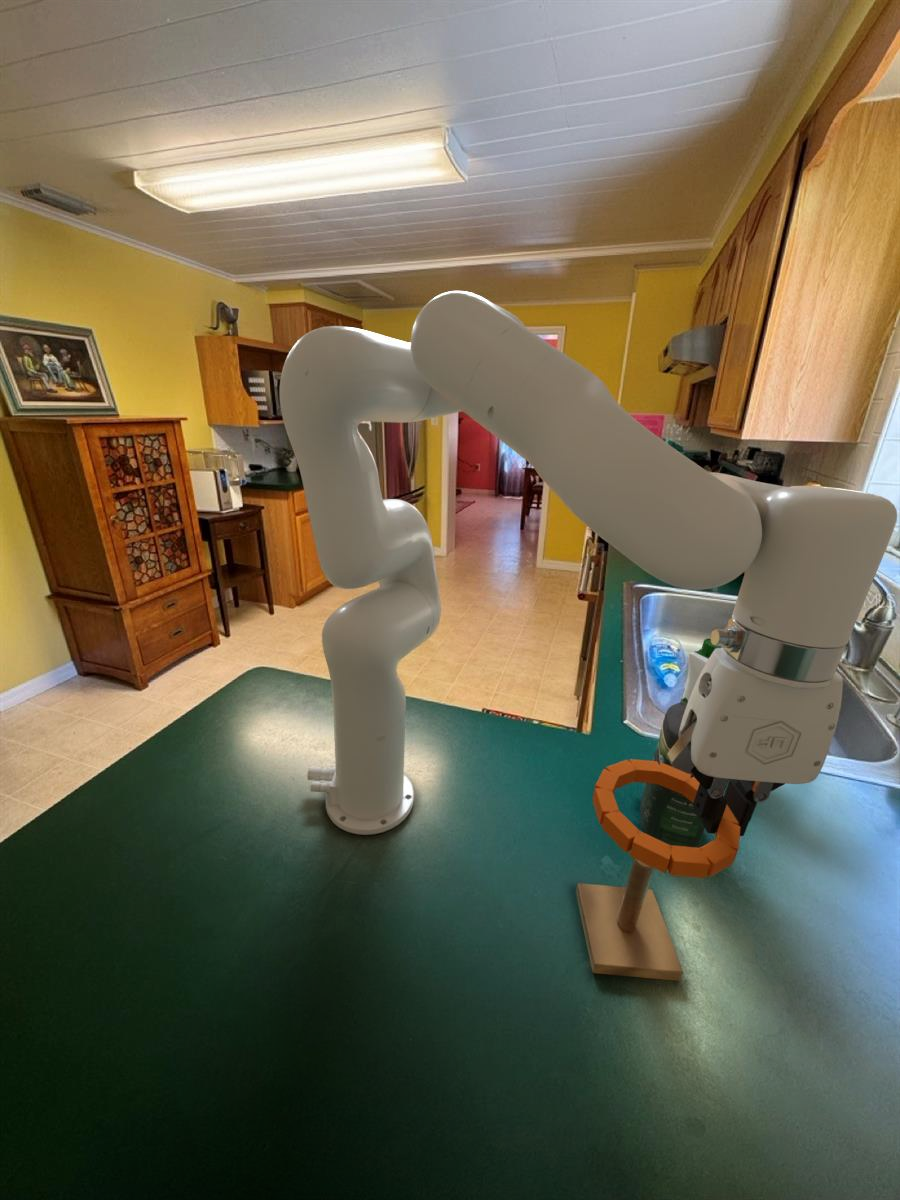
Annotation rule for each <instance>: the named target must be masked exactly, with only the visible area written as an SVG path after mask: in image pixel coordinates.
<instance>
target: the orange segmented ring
mask: <svg viewBox="0 0 900 1200" xmlns="http://www.w3.org/2000/svg"><path fill="white" fill-rule="evenodd" d="M690 777H691V774H687V773H685V772H683V771H680V770H678V769H676V768H674V767H672V766H669V765H667V764H664V763H661V764H660V766H659V764H658V762H657V761H653V760H645V759H635V758H633V759H632V758H630V759H629V760H628V759H624V760H622V761H619V762H616V763H613V764H610V765H608V766H605V768H603V769H602V771H601V773H600V775H599V777H598V779H597V781H596V783H595V785H594V790H593V795H592V804H593V806H594V807H593V808H594V810H595V814H596V818H597V820H598V824H599V825H601V829H602V830H603V831H604V832H605V833H606V834H607V835H608V836H609V837H610V838H611V839H612V840H613V842H615V843H616V845H617V846H618V847H619V848H621V850H622V851H623V852H624V853H628V852H629V857H631V858H632V859H634V858H635V859H637V860H639V861H641V862H643V863H645V864H647V865H649V866H651V867H653V868H654V870H657V871H659V872H661V873H663V874H666V873H667V871H668V874H669V875H670V876H676V877H688V878H699V879H706V878H707V877H708V878H711V877H713V876H715V875H716V874H718V873H720V872H721V871H724V870H725V869H727V868H728V867H731V866H732V864H733V863H735V859H736V857H737V854H738V852H739V848H740V847H739V846H740V837H741V836H740V826H738V825H739V822H738V821H737V819H736V818H735V816H734V815H733V813H732V811H731V810H730V808H729V807H728V805H726V808H725V811H724V814H723V817H722V819H721V822H720V823H719V826H718V829H717V832H716V833H715V834H714V840H712V841H710V842H708V843H706V844H704V845H702V846H700V847H697V848H695V847H684V846H673V845H669V844H667V843H664V842H662V841H660V840H658V839H656V838H654V837H652V836H650V835H647V834H645V832H644V831H641V830H640V829H639V828H638V827H637V826H635V825H634V824H633V823H632V821H631V820H630V819H628V818H627V817H626V816H625V815H624V814H623V812H621V811H620V808H619V806H618V803H617V800H616V798H615V793H616V790H617V789H619V788H622V787H624V786H627V785H630V784H632V783H643V784H646V783H652V784H659V785H661V786H664V787H666V788H668V789H671V790H673V791H676V792H678V793H680V794H683V795H684V796H685V797H686V798H688V799H689V800H690V801H691V802H693V803H694V800H695V796H696V793H697V790H698V787H699V784H700V783H699V782H698V781H697V780H696V778H695V777H692V778H690Z"/></svg>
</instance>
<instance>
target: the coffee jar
mask: <svg viewBox="0 0 900 1200" xmlns="http://www.w3.org/2000/svg"><path fill="white" fill-rule="evenodd" d="M687 703H688V702H683V701H682V702H681V701H679V702H677V703H674V704H672V705H671V706H669V707H668V708H667V710H666V712H665V714H664V718H663V720H662V723H661V729H660V732H659V738H658V742H657V745H656V748H655V749H656V750H655V752H654V756H653V759H652V761H657V762H658V764H659V766H660V764H661V763H664V764H667V765H669V766H672V765H671V763H670V761H669V759H668V757H667V753H668V752H669V751H670V749H671V748H672V747H673V746H674V744H675V743H676V742H677V741H678V739H679V730H680V725H681V722H682V718H683V715H684V712H685V709H686V706H687ZM672 767H673V766H672ZM692 777H694V776H693V775H691V777H690V778H692ZM639 816H640V823H641V827H642V830H643V833H645V834H647V835H650V836H652V837H654V838H656V839H658V840H660V841H662V842H664V843H667V844H669V845H673V846H684V847H695V848H699V846H700V844H701V840H702V838H703V836H704V835H703V834H704V832H705V830H706V829H705V827H704V826H703V824H702V822H701V820H700V818H698V817H697V816H696V814H695V812H694V809H693V802H691V801H690V800H689V799H688V798H686V797H685V796H684V795H683V794H680V793H678V792H676V791H673V790H671V789H668V788H666V787H664V786H661V785H659V784H652V783H645V786H644V788H643V793H642V796H641V799H640V806H639Z"/></svg>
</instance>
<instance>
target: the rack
mask: <svg viewBox="0 0 900 1200" xmlns="http://www.w3.org/2000/svg"><path fill="white" fill-rule="evenodd" d="M654 870H655V868H653V867H651V866H649V865H647V864H645V863H643V862H641V861H639V860H637V859H635V858H633V860H632V864H631V867H630V870H629V875H628V877H627V881H626V886H615V885H603V884H591V883H581V882H580V883H579V882H577V884H576V887H575V888H576V889H575V896H576V900H577V906H578V910H579V915H580V920H581V924H582V928H583V929H582V930H583V933H584V937H585V943H586V944H585V945H586V947H587V948H586V949H587V952H588V957H589V963H590V969H591V972H592V973H593V974H600V975H610V976H611V975H612V976H622V977H633V978H643V979H653V980H664V981H665V980H667V981H675V982H679V981H680V980H681V978H682V977H683V974H684V971H683V968H682V965H681V963H680V960H679V958H678V955H677V953H676V950H675V947H674V944H673V942H672V939H671V936H670V934H669V930H668V927H667V925H666V922H665V920H664V917H663V914H662V911H661V910H660V906H659V904H658V901H657V899H656V896H655V893H654V890H653V889H649V886H650V883H651V881H652V876H653V874H654Z"/></svg>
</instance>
